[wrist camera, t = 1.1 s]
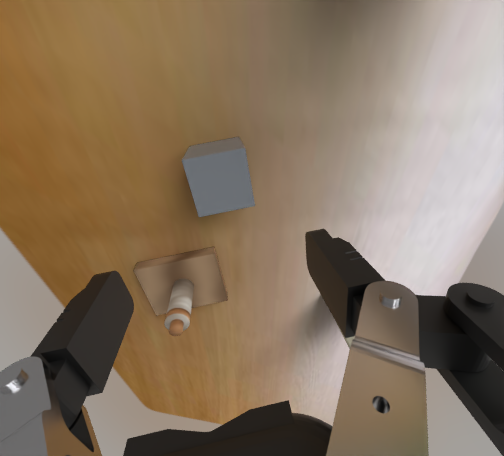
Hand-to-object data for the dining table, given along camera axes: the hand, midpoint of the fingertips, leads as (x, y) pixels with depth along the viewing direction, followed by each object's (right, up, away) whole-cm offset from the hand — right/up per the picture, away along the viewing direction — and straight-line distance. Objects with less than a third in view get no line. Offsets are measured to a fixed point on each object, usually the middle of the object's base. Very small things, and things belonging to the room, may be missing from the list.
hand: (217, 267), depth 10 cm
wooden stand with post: (-8, -5, +23) cm, 24 cm away
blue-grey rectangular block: (-2, +9, +16) cm, 18 cm away
